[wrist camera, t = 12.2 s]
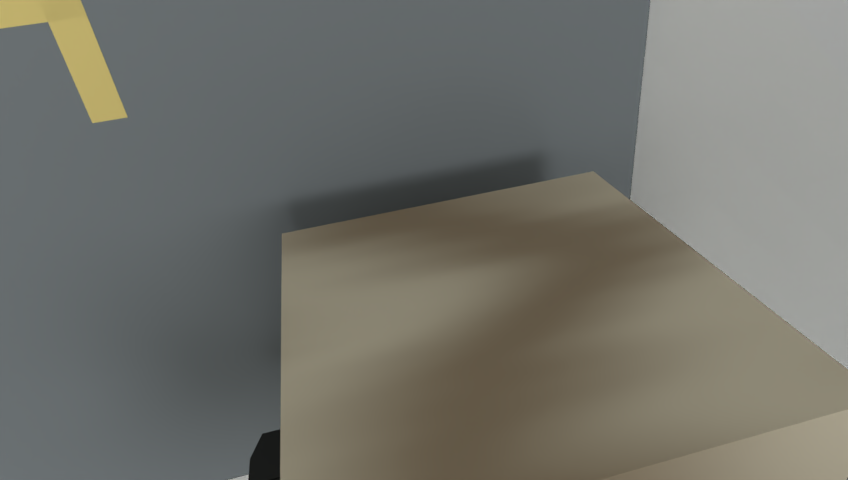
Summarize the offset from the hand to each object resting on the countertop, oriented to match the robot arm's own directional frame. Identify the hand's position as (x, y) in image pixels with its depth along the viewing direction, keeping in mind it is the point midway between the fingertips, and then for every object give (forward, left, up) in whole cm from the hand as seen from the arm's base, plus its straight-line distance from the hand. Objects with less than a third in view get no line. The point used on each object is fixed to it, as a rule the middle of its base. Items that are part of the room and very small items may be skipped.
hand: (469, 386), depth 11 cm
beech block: (0, 0, -1) cm, 1 cm away
